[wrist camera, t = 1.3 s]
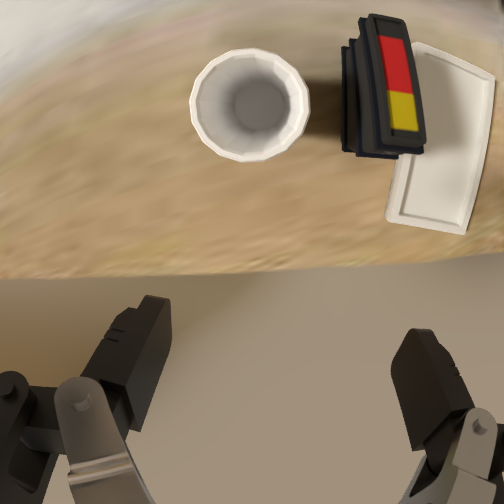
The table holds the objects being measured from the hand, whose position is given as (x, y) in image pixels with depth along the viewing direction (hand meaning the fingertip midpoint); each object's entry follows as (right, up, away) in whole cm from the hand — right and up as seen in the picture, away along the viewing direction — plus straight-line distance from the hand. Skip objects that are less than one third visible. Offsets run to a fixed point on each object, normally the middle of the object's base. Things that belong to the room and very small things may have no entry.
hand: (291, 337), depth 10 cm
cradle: (+22, +16, +21) cm, 34 cm away
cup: (0, +19, +22) cm, 29 cm away
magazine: (+10, +18, +22) cm, 30 cm away
